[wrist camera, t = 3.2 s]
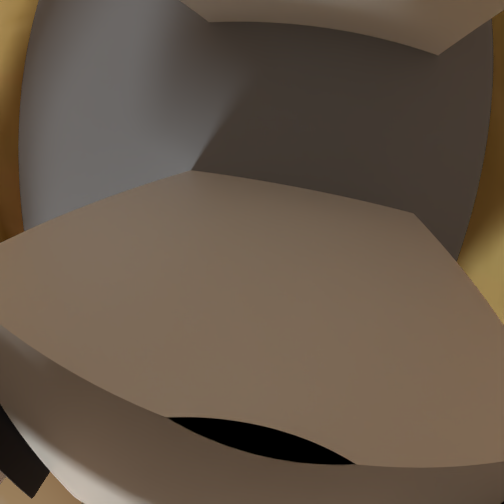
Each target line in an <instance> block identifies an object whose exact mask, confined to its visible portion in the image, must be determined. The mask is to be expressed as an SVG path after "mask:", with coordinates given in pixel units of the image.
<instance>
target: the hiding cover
mask: <svg viewBox="0 0 504 504" xmlns="http://www.w3.org/2000/svg"><path fill="white" fill-rule="evenodd" d="M179 1H181V2H182V3H184V4H185V5H186V6H188V7H189V8H191V9H192V10H193V11H195V12H196V13H197V14H199V15H200V16H201V17H203V18H204V19H205V20H207V21H208V22H271V23H286V24H298V25H307V26H316V27H323V28H330V29H336V30H342V31H348V32H353V33H358V34H363V35H368V36H372V37H377V38H381V39H385V40H389V41H393V42H397V43H400V44H404V45H407V46H411V47H414V48H417V49H420V50H424V51H427V52H430V53H433V54H435V55H439V54H441V53H442V52H444V51H445V50H446V49H448V48H449V47H451V46H452V45H453V44H455V43H456V42H458V41H459V40H460V39H462V38H463V37H465V36H466V35H468V34H469V33H471V32H472V31H473V30H475V29H476V28H478V27H479V26H481V25H482V24H484V23H485V22H487V21H488V20H490V19H491V18H493V17H494V16H496V15H497V14H499V13H500V12H502V11H503V10H504V0H179Z"/></svg>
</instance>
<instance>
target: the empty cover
mask: <svg viewBox="0 0 504 504" xmlns="http://www.w3.org/2000/svg"><path fill="white" fill-rule="evenodd" d="M0 404H1V406H2V407H3V409H4V411H5V412H6V414H7V415H8V417H9V418H10V420H11V421H12V423H13V424H14V425H15V427H16V428H17V430H18V431H19V433H20V434H21V435H22V437H23V438H24V439H25V441H26V442H27V443H28V445H29V446H30V447H31V449H32V450H33V451H34V452H35V454H36V455H37V456H38V457H39V459H40V460H41V461H42V462H43V463H44V464H45V466H46V467H47V468H48V469H49V470H50V471H51V472H52V474H53V475H54V476H55V477H56V478H57V479H58V480H59V481H60V482H61V484H62V485H63V486H64V487H65V488H66V489H67V490H68V491H69V492H70V493H71V494H72V495H73V496H74V497H75V498H77V499H78V500H80V501H81V502H83V503H84V504H501V503H502V502H504V325H503V324H502V322H501V321H500V319H499V318H498V316H497V315H496V313H495V312H494V311H493V309H492V308H491V306H490V305H489V303H488V302H487V301H486V299H485V298H484V297H483V295H482V294H481V293H480V291H479V290H478V289H477V287H476V286H475V285H474V283H473V282H472V281H471V279H470V278H469V277H468V276H467V274H466V273H465V272H464V271H463V269H462V268H461V267H460V266H459V264H458V263H457V262H456V261H455V259H454V258H453V257H452V256H451V255H450V253H449V252H448V251H447V250H446V249H445V248H444V246H443V245H442V244H441V243H440V242H439V241H438V240H437V238H436V237H435V236H434V235H433V234H432V233H431V232H430V231H429V230H428V228H427V227H426V226H425V225H424V224H423V223H422V222H421V221H420V220H419V219H418V218H417V217H416V216H415V214H414V213H410V212H406V211H402V210H399V209H395V208H391V207H386V206H382V205H378V204H374V203H370V202H366V201H361V200H357V199H352V198H348V197H343V196H339V195H334V194H329V193H324V192H319V191H315V190H309V189H304V188H299V187H294V186H289V185H283V184H278V183H272V182H266V181H260V180H254V179H248V178H242V177H235V176H229V175H222V174H215V173H208V172H201V171H193V170H190V171H186V172H183V173H180V174H176V175H173V176H170V177H167V178H164V179H160V180H157V181H154V182H151V183H148V184H145V185H142V186H139V187H136V188H133V189H130V190H127V191H124V192H121V193H119V194H116V195H113V196H110V197H108V198H105V199H102V200H99V201H97V202H94V203H91V204H89V205H86V206H84V207H81V208H79V209H76V210H73V211H71V212H68V213H66V214H64V215H61V216H59V217H56V218H54V219H52V220H49V221H47V222H45V223H42V224H40V225H38V226H35V227H33V228H31V229H29V230H26V231H24V232H22V233H20V234H18V235H16V236H13V237H11V238H9V239H7V240H5V241H3V242H1V243H0Z"/></svg>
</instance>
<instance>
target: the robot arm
mask: <svg viewBox="0 0 504 504" xmlns="http://www.w3.org/2000/svg"><path fill="white" fill-rule="evenodd" d="M49 472H50V470H49V469H48V468H47V467H46V466H45V464H44V463H43V462H42V461H41V460H40V459H39V457H38V456H37V455H36V454H35V452H34V451H33V450H32V449H31V447H30V446H29V445H28V443H27V442H26V441H25V439H24V438H23V437H22V435H21V434H20V433H19V431H18V430H17V428H16V427H15V425H14V424H13V423H12V421H11V420H10V418H9V417H8V415H7V414H6V412H5V411H4V409H3V407H2V406H1V404H0V484H1V482H2V481H3V480H4V479H5V478H6V477H8V478H9V479H10V480H11V481H12V482H13V483H14V484H15V485H16V486H17V487H19V488H20V489H21V490H22V491H23V492H24V493H25V494H27V495H28V496H29V497H30V498H33V497H34V496H35V494H36V493H37V491H38V490H39V488H40V486H41V484H42V483H43V482H44V480H45V479H46V477H47V476H48V474H49ZM501 504H504V502H502V503H501Z"/></svg>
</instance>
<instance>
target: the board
mask: <svg viewBox="0 0 504 504" xmlns="http://www.w3.org/2000/svg"><path fill="white" fill-rule="evenodd" d="M492 86H493V29H492V18H491V19H490V20H488V21H487V22H485V23H484V24H482V25H481V26H479V27H478V28H476V29H475V30H473V31H472V32H471V33H469V34H468V35H466V36H465V37H463V38H462V39H460V40H459V41H458V42H456V43H455V44H453V45H452V46H451V47H449V48H448V49H446V50H445V51H444V52H442V53H441V54H439V55H435V54H433V53H430V52H427V51H424V50H420V49H417V48H414V47H411V46H407V45H404V44H400V43H397V42H393V41H389V40H385V39H381V38H377V37H372V36H368V35H363V34H358V33H353V32H348V31H342V30H336V29H330V28H323V27H316V26H307V25H298V24H286V23H271V22H208V21H207V20H205V19H204V18H203V17H201V16H200V15H199V14H197V13H196V12H195V11H193V10H192V9H191V8H189V7H188V6H186V5H185V4H184V3H182V2H181V1H179V0H39V2H38V5H37V9H36V13H35V17H34V21H33V25H32V29H31V34H30V38H29V43H28V49H27V54H26V60H25V67H24V74H23V82H22V91H21V102H20V116H19V182H20V197H21V208H22V218H23V226H24V231H26V230H29V229H31V228H33V227H35V226H38V225H40V224H42V223H45V222H47V221H49V220H52V219H54V218H56V217H59V216H61V215H64V214H66V213H68V212H71V211H73V210H76V209H79V208H81V207H84V206H86V205H89V204H91V203H94V202H97V201H99V200H102V199H105V198H108V197H110V196H113V195H116V194H119V193H121V192H124V191H127V190H130V189H133V188H136V187H139V186H142V185H145V184H148V183H151V182H154V181H157V180H160V179H164V178H167V177H170V176H173V175H176V174H180V173H183V172H186V171H190V170H193V171H201V172H208V173H215V174H222V175H229V176H235V177H242V178H248V179H254V180H260V181H266V182H272V183H278V184H283V185H289V186H294V187H299V188H304V189H309V190H315V191H319V192H324V193H329V194H334V195H339V196H343V197H348V198H352V199H357V200H361V201H366V202H370V203H374V204H378V205H382V206H386V207H391V208H395V209H399V210H402V211H406V212H410V213H414V214H415V216H416V217H417V218H418V219H419V220H420V221H421V222H422V223H423V224H424V225H425V226H426V227H427V228H428V230H429V231H430V232H431V233H432V234H433V235H434V236H435V237H436V238H437V240H438V241H439V242H440V243H441V244H442V245H443V246H444V248H445V249H446V250H447V251H448V252H449V253H450V255H451V256H452V257H453V258H454V259H455V261H456V262H457V259H458V256H459V253H460V250H461V247H462V244H463V241H464V238H465V234H466V231H467V228H468V224H469V221H470V217H471V214H472V210H473V206H474V202H475V198H476V194H477V190H478V185H479V181H480V176H481V171H482V166H483V161H484V155H485V150H486V143H487V137H488V129H489V121H490V112H491V101H492Z"/></svg>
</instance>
